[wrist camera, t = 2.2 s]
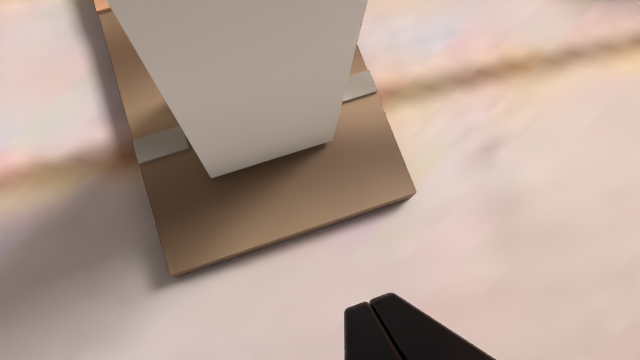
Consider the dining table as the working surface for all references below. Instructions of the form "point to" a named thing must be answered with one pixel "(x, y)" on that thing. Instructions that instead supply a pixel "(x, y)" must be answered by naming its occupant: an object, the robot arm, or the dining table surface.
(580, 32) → the dining table surface
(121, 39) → the brown flat wooden board
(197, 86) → the white tall block
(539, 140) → the dining table surface
